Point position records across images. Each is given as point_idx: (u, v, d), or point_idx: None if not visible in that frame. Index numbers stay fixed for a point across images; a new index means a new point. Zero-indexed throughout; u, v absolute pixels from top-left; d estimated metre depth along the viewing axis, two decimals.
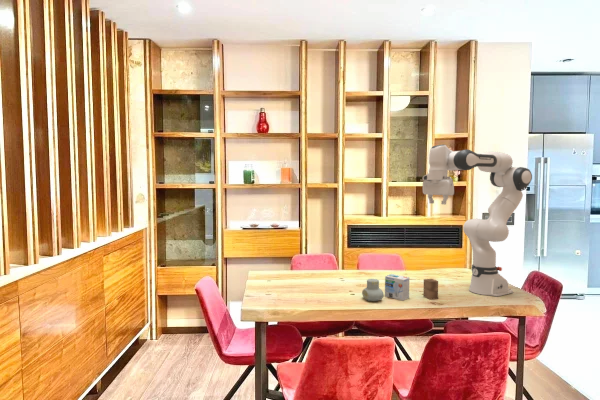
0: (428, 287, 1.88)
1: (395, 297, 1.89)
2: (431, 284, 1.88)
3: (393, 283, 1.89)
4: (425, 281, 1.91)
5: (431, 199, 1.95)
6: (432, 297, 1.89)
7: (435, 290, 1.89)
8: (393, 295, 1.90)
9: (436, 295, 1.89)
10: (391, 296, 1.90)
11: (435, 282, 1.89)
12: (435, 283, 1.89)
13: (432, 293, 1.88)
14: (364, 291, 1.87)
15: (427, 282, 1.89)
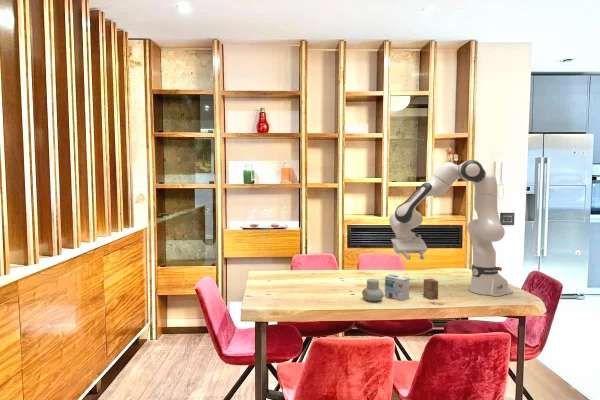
0: (428, 287, 1.88)
1: (395, 297, 1.89)
2: (431, 284, 1.88)
3: (393, 283, 1.89)
4: (425, 281, 1.91)
5: (421, 255, 2.04)
6: (432, 297, 1.89)
7: (435, 290, 1.89)
8: (393, 295, 1.90)
9: (436, 295, 1.89)
10: (391, 296, 1.90)
11: (435, 282, 1.89)
12: (435, 283, 1.89)
13: (432, 293, 1.88)
14: (364, 291, 1.87)
15: (427, 282, 1.89)
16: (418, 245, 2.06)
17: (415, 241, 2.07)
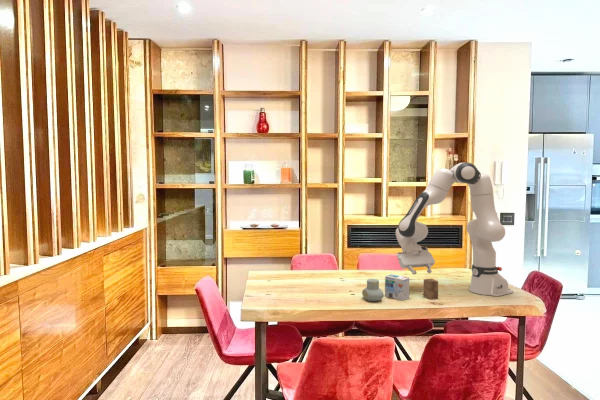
0: (428, 287, 1.88)
1: (395, 297, 1.89)
2: (431, 284, 1.88)
3: (393, 283, 1.89)
4: (425, 281, 1.91)
5: None
6: (432, 297, 1.89)
7: (435, 290, 1.89)
8: (393, 295, 1.90)
9: (436, 295, 1.89)
10: (391, 296, 1.90)
11: (435, 282, 1.89)
12: (435, 283, 1.89)
13: (432, 293, 1.88)
14: (364, 291, 1.87)
15: (427, 282, 1.89)
16: (425, 258, 2.02)
17: (422, 254, 2.04)
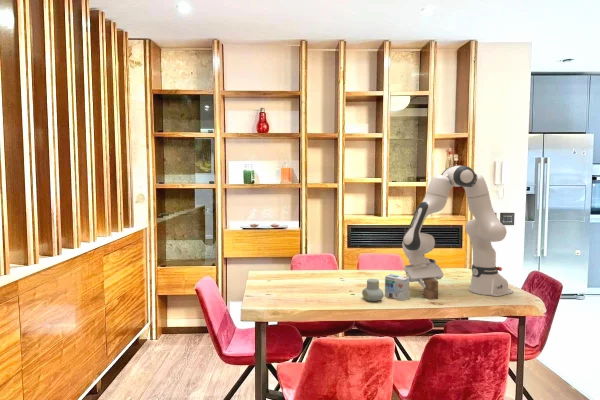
0: (428, 286, 1.88)
1: (395, 297, 1.89)
2: (431, 284, 1.88)
3: (393, 283, 1.89)
4: (425, 281, 1.91)
5: None
6: (432, 297, 1.89)
7: (435, 290, 1.89)
8: (393, 295, 1.90)
9: (436, 295, 1.89)
10: (391, 296, 1.90)
11: (435, 282, 1.89)
12: (435, 283, 1.89)
13: (432, 293, 1.88)
14: (364, 291, 1.87)
15: (427, 282, 1.89)
16: (433, 272, 1.96)
17: (430, 267, 1.97)
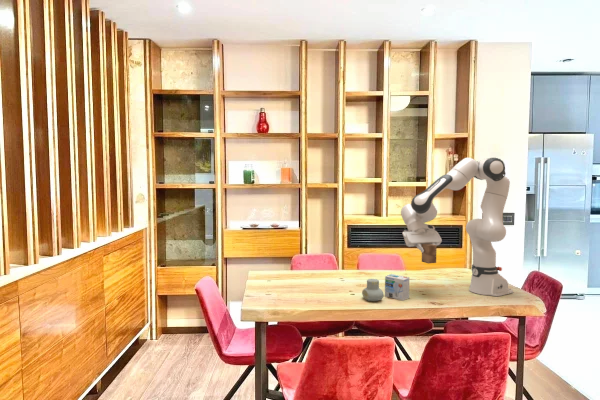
0: (427, 251, 1.88)
1: (395, 297, 1.89)
2: (429, 248, 1.87)
3: (393, 283, 1.89)
4: (423, 245, 1.90)
5: None
6: (430, 261, 1.88)
7: (433, 254, 1.88)
8: (393, 295, 1.90)
9: (434, 259, 1.88)
10: (391, 296, 1.90)
11: (433, 246, 1.88)
12: (433, 247, 1.88)
13: (430, 257, 1.88)
14: (364, 291, 1.87)
15: (425, 246, 1.89)
16: (432, 237, 1.95)
17: (428, 233, 1.97)
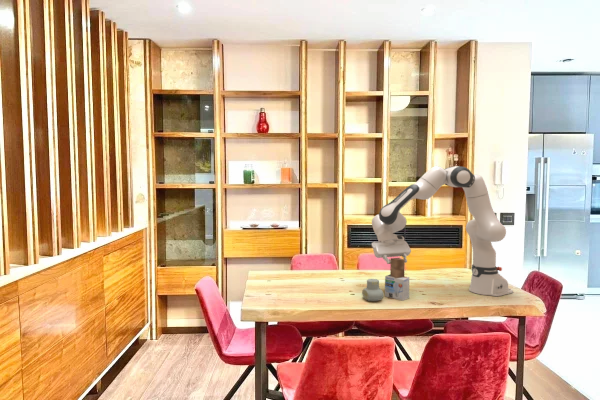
0: (395, 265, 1.89)
1: (395, 297, 1.89)
2: (397, 262, 1.88)
3: (393, 283, 1.89)
4: (392, 260, 1.91)
5: (404, 258, 1.94)
6: (398, 276, 1.89)
7: (401, 269, 1.89)
8: (393, 295, 1.90)
9: (402, 274, 1.90)
10: (391, 296, 1.90)
11: (401, 261, 1.89)
12: (401, 262, 1.89)
13: (398, 271, 1.89)
14: (364, 291, 1.87)
15: (393, 261, 1.90)
16: (401, 248, 1.96)
17: (397, 244, 1.97)
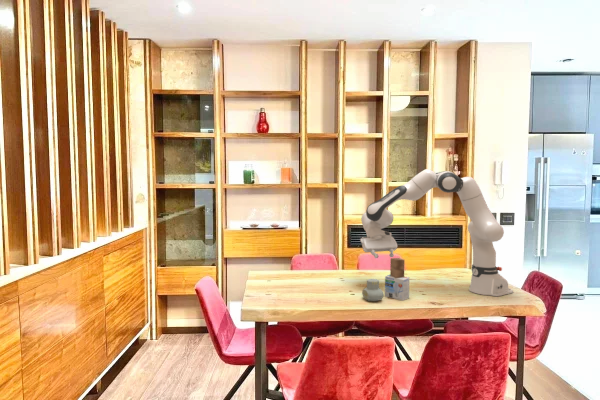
0: (395, 265, 1.89)
1: (395, 297, 1.89)
2: (397, 262, 1.88)
3: (393, 283, 1.89)
4: (392, 260, 1.91)
5: (391, 253, 2.06)
6: (398, 276, 1.89)
7: (401, 269, 1.89)
8: (393, 295, 1.90)
9: (402, 274, 1.90)
10: (391, 296, 1.90)
11: (401, 261, 1.89)
12: (401, 262, 1.89)
13: (398, 271, 1.89)
14: (364, 291, 1.87)
15: (393, 261, 1.90)
16: (388, 243, 2.08)
17: (385, 239, 2.09)
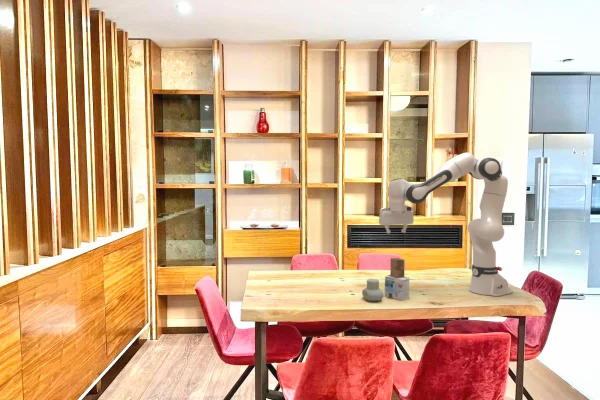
0: (395, 265, 1.89)
1: (395, 297, 1.89)
2: (397, 262, 1.88)
3: (393, 283, 1.89)
4: (392, 260, 1.91)
5: (403, 228, 2.08)
6: (398, 276, 1.89)
7: (401, 269, 1.89)
8: (392, 295, 1.90)
9: (402, 274, 1.89)
10: (391, 296, 1.90)
11: (401, 261, 1.89)
12: (401, 262, 1.89)
13: (398, 271, 1.89)
14: (364, 291, 1.87)
15: (393, 261, 1.90)
16: (405, 219, 2.06)
17: (404, 214, 2.05)
